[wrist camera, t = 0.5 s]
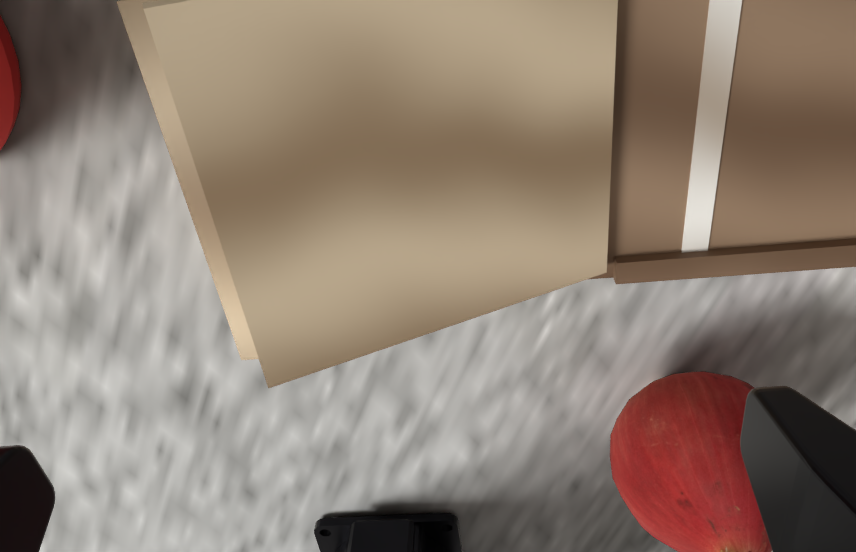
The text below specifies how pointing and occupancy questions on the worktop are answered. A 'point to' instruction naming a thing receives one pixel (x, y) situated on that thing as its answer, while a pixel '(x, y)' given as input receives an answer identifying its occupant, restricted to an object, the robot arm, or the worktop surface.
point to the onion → (688, 464)
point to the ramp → (382, 159)
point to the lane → (732, 138)
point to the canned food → (8, 84)
